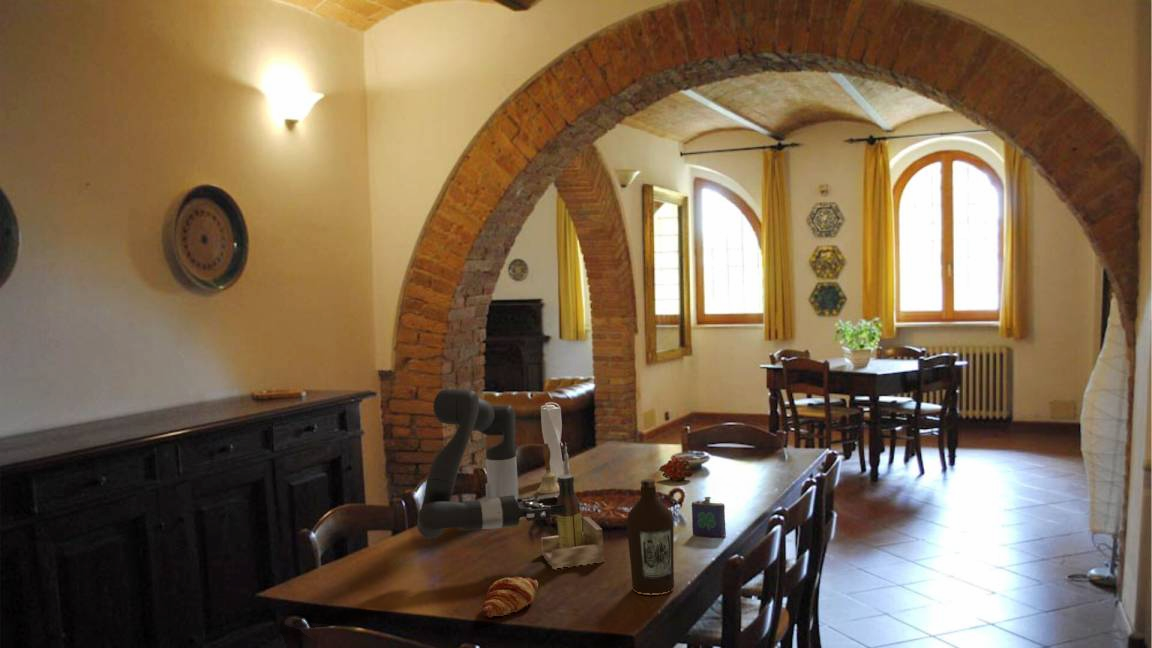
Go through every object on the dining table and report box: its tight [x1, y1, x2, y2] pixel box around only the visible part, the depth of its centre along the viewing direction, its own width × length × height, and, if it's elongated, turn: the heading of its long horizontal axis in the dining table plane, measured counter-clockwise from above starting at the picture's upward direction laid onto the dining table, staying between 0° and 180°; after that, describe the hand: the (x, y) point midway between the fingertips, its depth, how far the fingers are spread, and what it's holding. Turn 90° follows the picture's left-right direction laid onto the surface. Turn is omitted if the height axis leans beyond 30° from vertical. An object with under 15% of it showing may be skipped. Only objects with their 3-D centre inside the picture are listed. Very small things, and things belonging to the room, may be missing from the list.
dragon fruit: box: [658, 456, 694, 482], centre depth 315 cm, size 8×8×12 cm
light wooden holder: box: [540, 516, 605, 570], centre depth 235 cm, size 13×13×8 cm
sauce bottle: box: [556, 474, 584, 549], centre depth 235 cm, size 7×6×20 cm
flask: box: [691, 496, 727, 539], centre depth 248 cm, size 9×3×11 cm, turn 63°
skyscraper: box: [540, 401, 571, 483], centre depth 325 cm, size 8×8×28 cm
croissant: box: [481, 576, 539, 618], centre depth 205 cm, size 21×10×8 cm, turn 153°
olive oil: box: [626, 478, 675, 594], centre depth 209 cm, size 11×11×25 cm
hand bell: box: [536, 443, 559, 495], centre depth 310 cm, size 8×8×16 cm
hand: (561, 504), depth 234 cm, fingers open, 8 cm apart
